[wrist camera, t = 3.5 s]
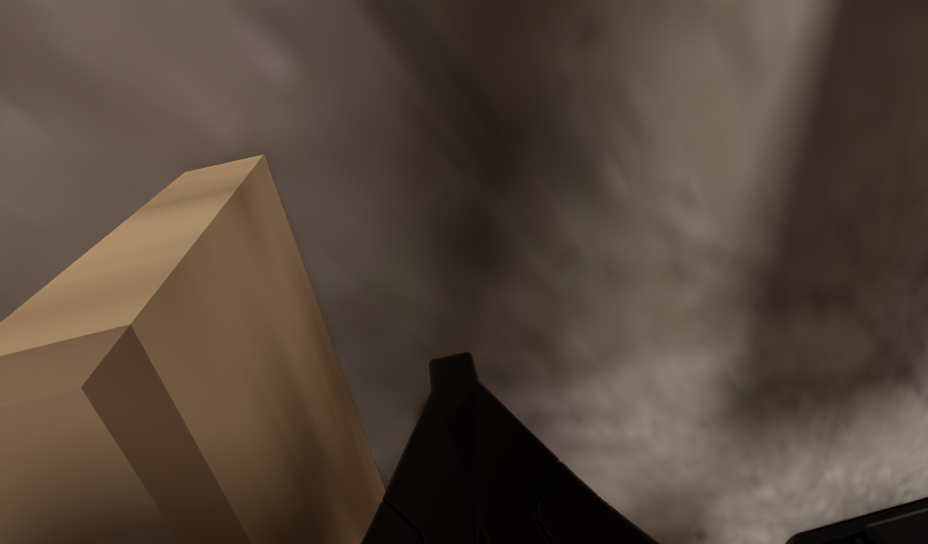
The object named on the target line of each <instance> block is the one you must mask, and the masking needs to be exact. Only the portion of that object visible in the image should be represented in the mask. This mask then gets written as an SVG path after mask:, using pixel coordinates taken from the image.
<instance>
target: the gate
mask: <svg viewBox="0 0 928 544" xmlns="http://www.w3.org/2000/svg"><path fill="white" fill-rule="evenodd" d="M384 494H385V489H384V486H383V483H382V481H381V478H380V475H379V472H378V470H377V467H376V464H375V461H374V458H373V456H372V453H371V450H370V447H369V445H368V442H367V439H366V436H365V434H364V431H363V428H362V425H361V422H360V420H359V417H358V414H357V411H356V409H355V406H354V403H353V400H352V397H351V395H350V392H349V389H348V386H347V384H346V381H345V378H344V375H343V373H342V370H341V367H340V364H339V361H338V359H337V356H336V353H335V350H334V348H333V345H332V342H331V339H330V336H329V334H328V331H327V328H326V325H325V323H324V320H323V317H322V314H321V312H320V309H319V306H318V303H317V300H316V298H315V295H314V292H313V289H312V287H311V284H310V281H309V278H308V275H307V273H306V270H305V267H304V264H303V262H302V259H301V256H300V253H299V251H298V248H297V245H296V242H295V239H294V237H293V234H292V231H291V228H290V226H289V223H288V220H287V217H286V214H285V212H284V209H283V206H282V203H281V201H280V198H279V195H278V192H277V190H276V187H275V184H274V181H273V178H272V176H271V173H270V170H269V167H268V165H267V162H266V159H265V156H264V155H259V156H255V157H250V158H246V159H242V160H237V161H233V162H228V163H224V164H220V165H215V166H211V167H206V168H202V169H197V170H193V171H189V172H184V173H183V174H182V175H181V176H180V177H178V178H177V179H176V180H175V181H173V182H172V183H171V184H170V185H169V186H167V187H166V188H165V189H164V190H162V191H161V192H160V193H159V194H158V195H156V196H155V197H154V198H153V199H151V200H150V201H149V202H148V203H146V204H145V205H144V206H143V207H142V208H140V209H139V210H138V211H137V212H135V213H134V214H133V215H132V216H131V217H129V218H128V219H127V220H126V221H124V222H123V223H122V224H121V225H120V226H118V227H117V228H116V229H115V230H113V231H112V232H111V233H110V234H108V235H107V236H106V237H105V238H104V239H102V240H101V241H100V242H99V243H97V244H96V245H95V246H94V247H93V248H91V249H90V250H89V251H88V252H86V253H85V254H84V255H83V256H82V257H80V258H79V259H78V260H77V261H75V262H74V263H73V264H72V265H70V266H69V267H68V268H67V269H66V270H64V271H63V272H62V273H61V274H59V275H58V276H57V277H56V278H55V279H53V280H52V281H51V282H50V283H48V284H47V285H46V286H45V287H44V288H42V289H41V290H40V291H39V292H37V293H36V294H35V295H34V296H32V297H31V298H30V299H29V300H28V301H26V302H25V303H24V304H23V305H21V306H20V307H19V308H18V309H17V310H15V311H14V312H13V313H12V314H10V315H9V316H8V317H7V318H6V319H4V320H3V321H2V322H1V323H0V544H361V542H362V540H363V538H364V536H365V534H366V532H367V530H368V528H369V526H370V524H371V522H372V520H373V517H374V515H375V513H376V511H377V509H378V506H379V504H380V503H381V502H383V501H382V498H383V496H384Z"/></svg>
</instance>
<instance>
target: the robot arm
mask: <svg viewBox="0 0 928 544" xmlns="http://www.w3.org/2000/svg"><path fill="white" fill-rule="evenodd" d="M429 370H430V382H431V393H430V395H429V397H428V399H427V402H426V404H425V406H424V408H423V410H422V412H421V415H420V417H419V419H418V421H417V423H416V426H415V428H414V430H413V432H412V434H411V437H410V439H409V441H408V443H407V445H406V448H405V450H404V452H403V454H402V456H401V459H400V461H399V463H398V465H397V467H396V470H395V472H394V474H393V476H392V478H391V481H390V483H389V485H388V487H387V489H386V492H385V494H384V496H383V498H382V501H383V502H381V503H380V504H379V506H378V509H377V511H376V513H375V515H374V517H373V520H372V522H371V524H370V526H369V528H368V530H367V532H366V534H365V536H364V538H363V540H362V542H361V544H660V543H659V542H657V541H656V540H655V539H653V538H652V537H651V536H649V535H648V534H647V533H645V532H644V531H643V530H641V529H640V528H639V527H637V526H636V525H635V524H633V523H632V522H631V521H629V520H628V519H627V518H626V517H624V516H623V515H622V514H621V513H619V512H618V511H617V510H615V509H614V508H613V507H612V506H610V505H609V504H608V503H607V502H605V501H604V500H603V499H602V498H601V497H599V496H598V495H597V494H596V493H595V492H594V491H593V490H592V489H591V488H590V487H588V486H587V485H586V484H585V483H584V482H583V481H582V480H581V479H580V478H578V477H577V476H576V475H575V474H574V473H573V472H572V471H571V470H570V469H569V468H568V467H567V466H566V465H565V464H564V463H563V462H560V461H559V458H558V457H557V456H556V455H555V454H553V453H552V452H551V451H550V450H549V449H548V448H547V447H546V446H545V445H544V444H543V443H542V442H541V441H540V440H539V439H538V438H537V437H536V436H535V435H534V434H533V433H532V432H531V431H530V430H529V429H528V428H527V427H526V426H525V425H524V424H523V423H522V422H521V421H520V420H519V419H517V418H516V417H515V416H514V415H513V414H512V413H511V412H510V411H509V410H508V409H507V408H506V407H505V406H504V405H503V404H502V403H501V402H500V401H499V400H498V399H497V398H496V397H495V396H494V395H493V394H492V393H491V392H490V391H489V390H488V389H487V388H486V387H485V386H484V385H483V384H482V383H480V382H479V379H478V376H477V372H476V368H475V365H474V361H473V357H472V354H471V353H469V352H464V353H459V354H455V355H450V356H445V357H441V358H436V359H432V360H431V361H430V362H429ZM794 544H928V500H925V501H921V502H918V503H914V504H911V505H907V506H903V507H900V508H896V509H893V510H889V511H886V512H882V513H878V514H875V515H871V516H868V517H864V518H860V519H857V520H853V521H850V522H846V523H843V524H839V525H835V526H832V527H828V528H825V529H821V530H818V531H814V532H810V533H807V534H805V535H803V536H801V537H800V538H798V539H797V540H796V541H795V543H794Z"/></svg>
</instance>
